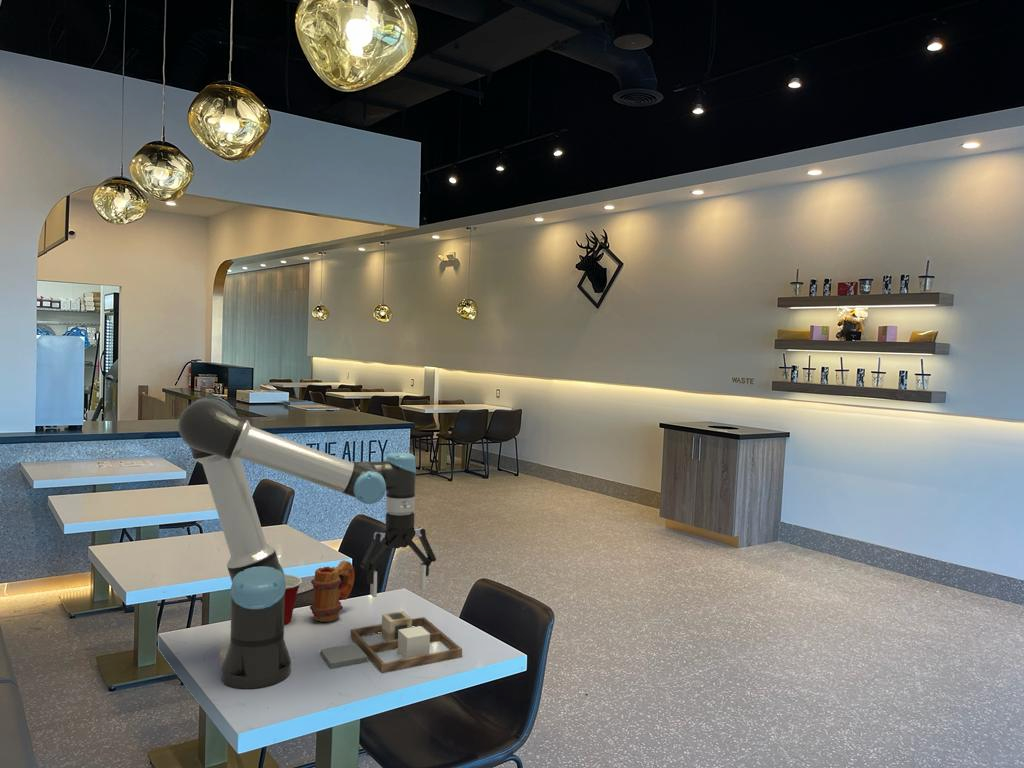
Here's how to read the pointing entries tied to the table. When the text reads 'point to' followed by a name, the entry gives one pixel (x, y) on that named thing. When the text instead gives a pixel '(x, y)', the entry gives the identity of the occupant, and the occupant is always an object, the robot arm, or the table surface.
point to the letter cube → (394, 624)
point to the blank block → (413, 642)
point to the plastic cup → (290, 596)
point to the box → (388, 645)
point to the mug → (331, 590)
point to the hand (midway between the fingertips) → (398, 592)
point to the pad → (343, 655)
